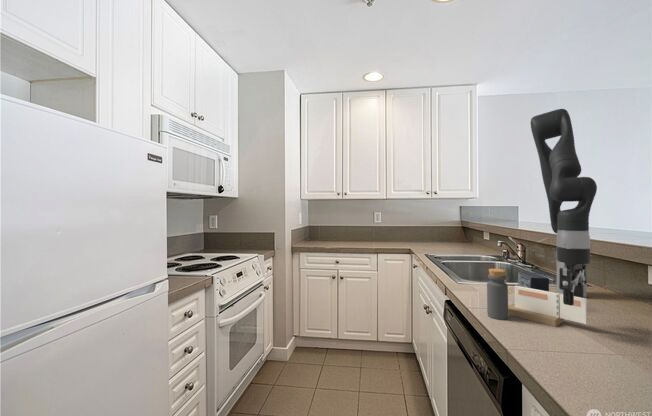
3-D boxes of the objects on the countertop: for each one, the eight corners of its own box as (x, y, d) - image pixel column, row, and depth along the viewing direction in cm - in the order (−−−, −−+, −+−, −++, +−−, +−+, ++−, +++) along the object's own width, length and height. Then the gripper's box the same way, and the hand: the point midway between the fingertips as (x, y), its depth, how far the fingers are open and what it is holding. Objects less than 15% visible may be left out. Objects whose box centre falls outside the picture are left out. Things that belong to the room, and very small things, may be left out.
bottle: (508, 321, 92) (507, 272, 92) (486, 317, 95) (486, 270, 95) (508, 315, 97) (507, 269, 97) (488, 312, 100) (487, 267, 100)
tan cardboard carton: (504, 313, 99) (503, 286, 99) (513, 309, 103) (513, 283, 103) (555, 326, 87) (554, 295, 87) (563, 321, 91) (563, 291, 91)
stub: (559, 318, 89) (559, 294, 89) (561, 317, 89) (560, 293, 89) (585, 324, 84) (585, 299, 84) (587, 323, 85) (586, 298, 85)
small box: (551, 307, 104) (550, 277, 104) (530, 306, 105) (529, 277, 105) (536, 299, 114) (535, 271, 114) (517, 298, 116) (516, 271, 116)
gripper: (565, 243, 94) (566, 295, 93) (548, 246, 86) (548, 303, 85) (597, 245, 88) (598, 301, 87) (581, 249, 79) (582, 310, 79)
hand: (573, 302), depth 86 cm, fingers open, 8 cm apart
